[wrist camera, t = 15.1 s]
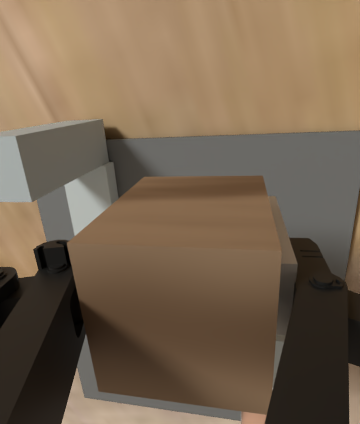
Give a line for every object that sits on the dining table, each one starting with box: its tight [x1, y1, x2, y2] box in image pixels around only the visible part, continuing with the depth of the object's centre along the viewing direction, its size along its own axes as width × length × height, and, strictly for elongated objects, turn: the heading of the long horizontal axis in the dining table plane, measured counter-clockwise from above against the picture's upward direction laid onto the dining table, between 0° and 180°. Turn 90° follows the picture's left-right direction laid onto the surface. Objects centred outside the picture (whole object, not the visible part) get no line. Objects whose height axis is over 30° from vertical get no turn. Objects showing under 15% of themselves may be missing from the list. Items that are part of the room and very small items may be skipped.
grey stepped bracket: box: [0, 119, 118, 236], centre depth 24 cm, size 20×4×10 cm, turn 3°
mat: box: [37, 131, 360, 421], centre depth 30 cm, size 32×28×1 cm
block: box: [67, 176, 282, 415], centre depth 12 cm, size 6×6×7 cm
